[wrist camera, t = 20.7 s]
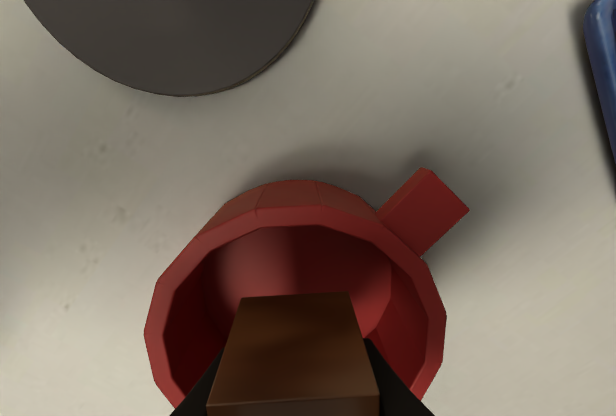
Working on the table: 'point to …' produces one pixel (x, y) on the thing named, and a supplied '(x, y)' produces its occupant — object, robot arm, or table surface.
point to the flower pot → (603, 58)
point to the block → (295, 360)
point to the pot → (308, 273)
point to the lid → (174, 39)
